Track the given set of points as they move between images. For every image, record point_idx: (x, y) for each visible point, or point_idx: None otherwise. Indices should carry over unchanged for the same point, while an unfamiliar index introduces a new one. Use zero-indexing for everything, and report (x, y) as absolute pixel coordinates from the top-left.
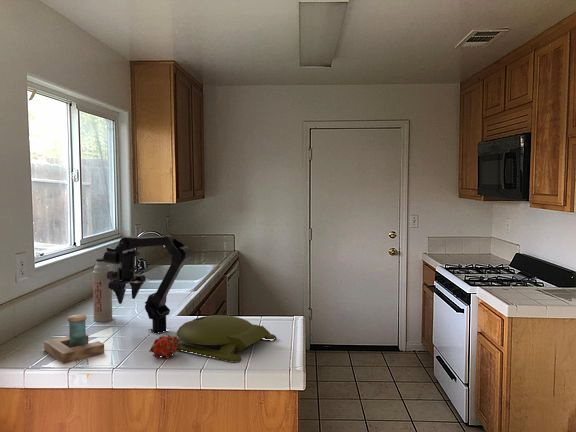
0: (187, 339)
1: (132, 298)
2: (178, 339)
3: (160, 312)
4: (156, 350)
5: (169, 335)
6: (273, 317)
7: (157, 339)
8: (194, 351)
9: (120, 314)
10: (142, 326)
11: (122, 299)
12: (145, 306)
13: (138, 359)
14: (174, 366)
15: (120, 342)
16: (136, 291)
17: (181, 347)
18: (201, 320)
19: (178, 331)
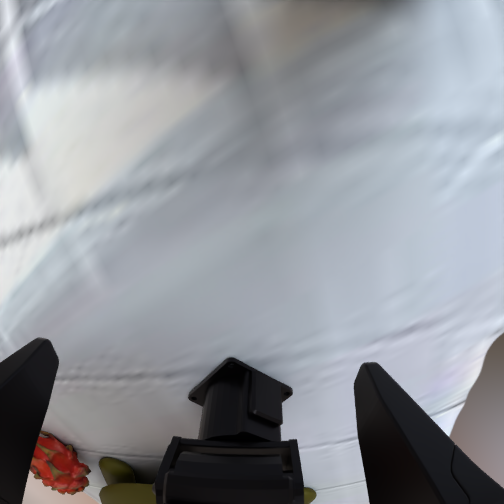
0: (100, 498)
1: (362, 367)
2: (80, 490)
3: (289, 453)
4: None
5: (61, 488)
6: None
7: (33, 467)
8: (107, 484)
9: (498, 14)
10: (297, 285)
11: (33, 421)
12: (165, 486)
13: None
14: None
15: (37, 310)
16: (372, 500)
17: (103, 473)
18: None
19: (121, 495)
